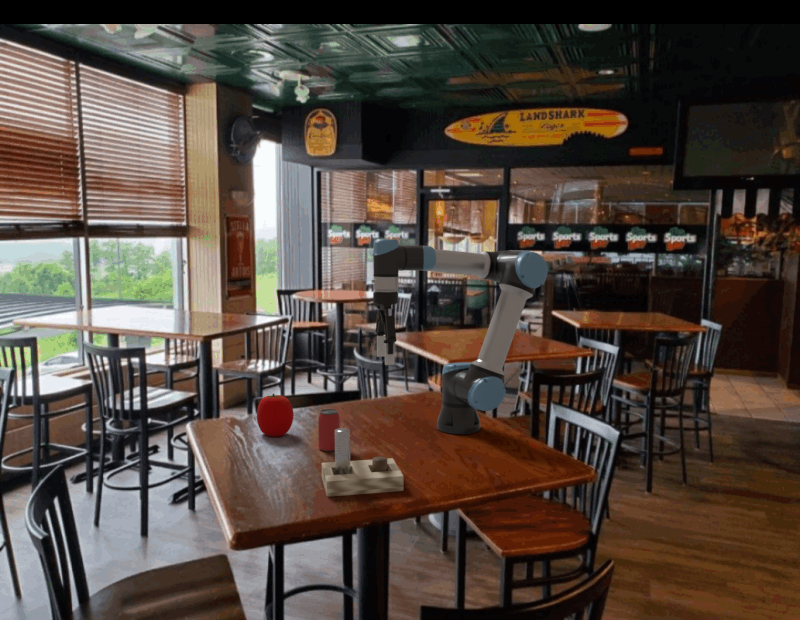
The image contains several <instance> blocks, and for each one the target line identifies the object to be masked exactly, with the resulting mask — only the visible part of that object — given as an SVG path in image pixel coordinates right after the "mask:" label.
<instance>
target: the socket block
mask: <svg viewBox="0 0 800 620" xmlns="http://www.w3.org/2000/svg"><path fill="white" fill-rule="evenodd" d="M321 479H322V483H323V487H324V490H325V494H326V497H337V496H338V497H340V496H353V495H369V494H379V493H393V492H394V493H395V492H403V491H404V474H403V472H402V471H401V469H400V468H399V466H398V465H397V463H396V461H395V458H393V457H392V458H389V457H388V458H387V457H386V456H375V457H372V459H362V460H360V459H359V460H350V474H341V475H335V461H331V462H330V461H329V462H321Z"/></svg>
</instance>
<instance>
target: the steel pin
mask: <svg viewBox="0 0 800 620" xmlns="http://www.w3.org/2000/svg"><path fill="white" fill-rule="evenodd" d="M350 461H351V431H350V429H349V428H345V427H340V428H339V429H336V430H335V451H334V462H335V475H341V474H350Z"/></svg>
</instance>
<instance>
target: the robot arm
mask: <svg viewBox="0 0 800 620" xmlns="http://www.w3.org/2000/svg"><path fill="white" fill-rule="evenodd" d="M372 249H373V250H372V251H373V252H372V256H373V257H372V258H373V259H372V260H373V262H372V263H373V264H372V265H373V266H372V267H373V279H371V284H373V285H372V286H373V290H374V291H373V293H372V295H373V296H372V303H373V304H375V305H377V311H376V312H377V313H376V322H375V324H376V325H375V333H376V357H377V358H379V357H384V365H385V366H395V357H396V355H395V353H396V351H395V349H396V348H395V346H396V345H395V343H396V342H397V332H396V322H395V321H396V320H395V308H392V305H397V304H398V303H399V292H398V290H399V280H400V279H399V271H413V272H414V271H423V272H424V271H425V272H435V273H445V274H455V275H465V276H466V275H467V276H475V277H477V278H478V279H479V280H487V281H490V282H495V283H498V286H499V289H500V290H501V291H500V295H499V298H498V300H497V303H496V306H495V308H494V312H493V314H492V317H491V320H490V322H489V326H488V329H487V331H486V334H485V336H484V338H483V339H484V340H483V343H482V346H481V348H480V351H479V353H478V357H477V359H476V360H474V361H472V362H465V361H464V362H462V361H461V362H450V363H446V364H444V365H443V367H442V373H441V375H442V380H441V381H442V383H441V384H442V389H441V391H442V394H441V395H442V396H441V397H442V400H441V401H442V402H441V409H440V411H439V414H438V417H437V421H436V429H437V430H438V431H441V432H443V433H446V434H451V435H470V434H475V433H477V432H479V431H481V419H480V417H479V413H478V411H479V410H480V411H483V412H490V411H492V410H495V409H496V408H498V407H499V406H500V405H501V404H502V403H503V401H504V399H505V396H506V387H505V384H504V382H503V381H504V378H505V376H506V374H505V372H504V370H503V367H504V365H505V362H506V359H507V356H508V353H509V350H510V348H511V345H512V342H513V339H514V336H515V333H516V331H517V327H518V324H519V322H520V319H521V317H522V313H523V312H524V311H523V310H524V308H525V305H526V303H527V300H528V299H530V298H532V297H533V296H534V294H535V291H536V289H537V288H539V287H541V286H543V285H544V283H545V282H546V280H547V277H548V270H549V269H548V265H547V263H546V260H545V259H544V257H543V256H542V255H541V254H539V253H538V252H534V251H529V250H497V251H485V250H483V251H480V252H479V253H477V252H470V251H469V252H466V251H459V250H458V251H457V250H451V249H450V250H449V249H448V250H447V249H439V248H434V247H433V246H431V245H403V244H401V245H400V243H399V240H398V239H396V238H395V239H389V238H388V239H386V238H377V239H375V241H374V242H373V248H372Z"/></svg>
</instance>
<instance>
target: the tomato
mask: <svg viewBox="0 0 800 620" xmlns="http://www.w3.org/2000/svg"><path fill="white" fill-rule="evenodd" d="M256 421H257V425H258V427H259V430H260V432H261V433H263V434H264V435H265V436H269V437H272V438H274V437H275V438H277V437H278V438H279V437H282V436H285V435H286V434H287V433H288V432H289V430H290V429H291V427H292V425H293V422H294V409H293V406H292V403H291V402H290V400H289V399H288V398H287V397H286V396H285V395H281V394H275V393H272V394H271V395H263V398H262V399H261V400H259V404H258V406H257V410H256Z"/></svg>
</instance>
